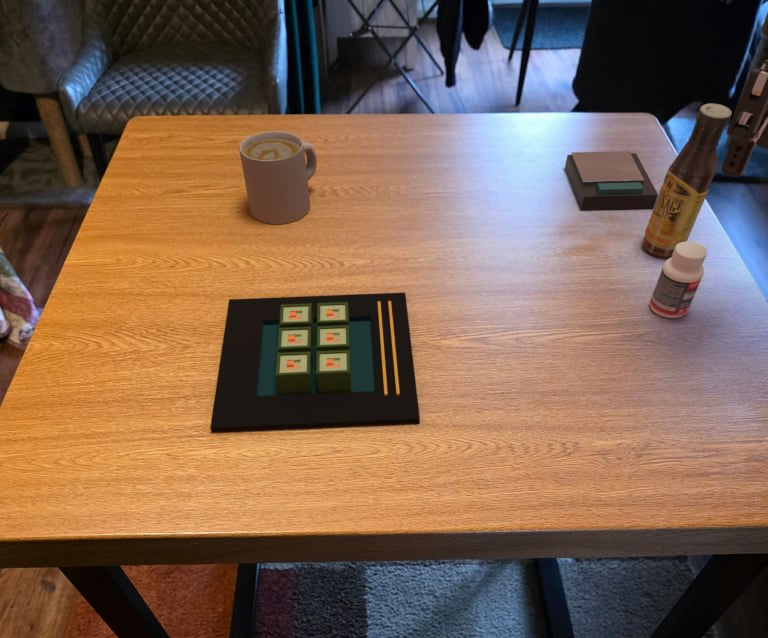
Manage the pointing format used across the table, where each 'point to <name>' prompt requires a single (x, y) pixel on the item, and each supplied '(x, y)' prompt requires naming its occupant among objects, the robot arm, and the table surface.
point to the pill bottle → (679, 280)
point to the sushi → (315, 364)
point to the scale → (609, 181)
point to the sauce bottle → (686, 183)
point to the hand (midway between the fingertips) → (748, 160)
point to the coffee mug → (277, 175)
